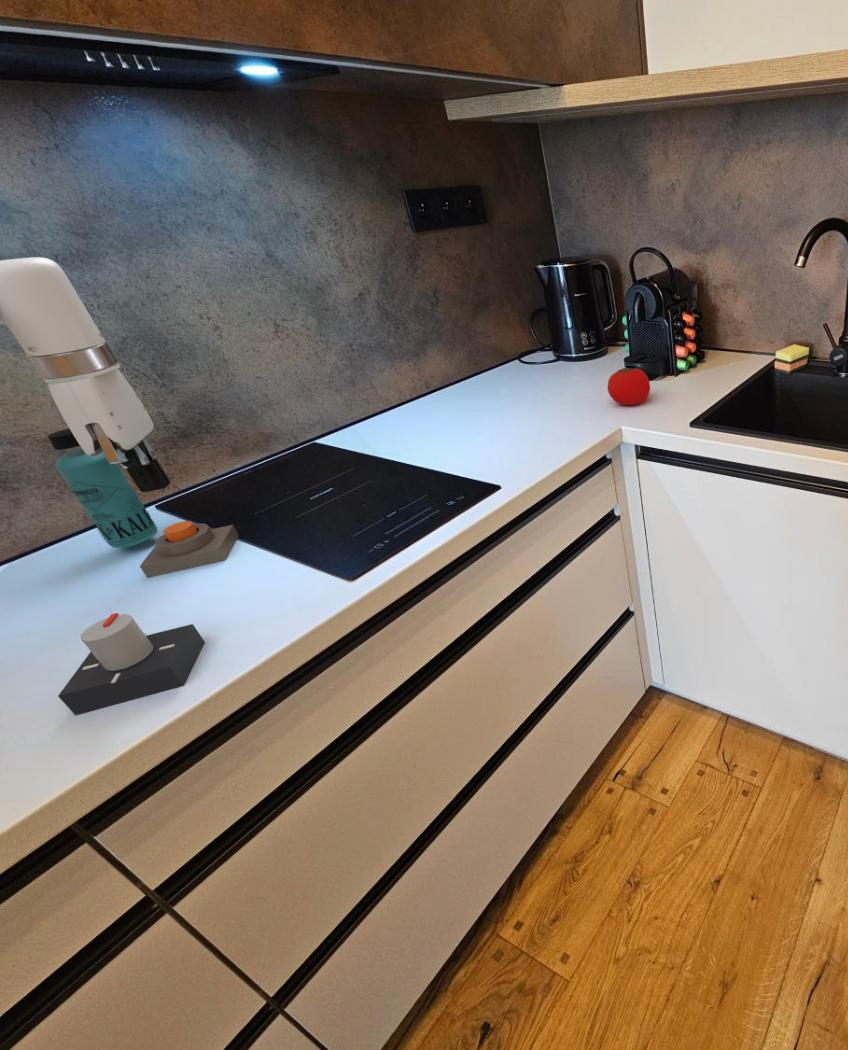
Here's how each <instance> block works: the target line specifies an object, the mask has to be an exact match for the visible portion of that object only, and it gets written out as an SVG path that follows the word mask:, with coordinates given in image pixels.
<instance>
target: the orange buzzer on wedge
mask: <svg viewBox="0 0 848 1050" xmlns="http://www.w3.org/2000/svg"><path fill="white" fill-rule="evenodd" d="M193 524H194V526H195V528H196V529H197V531H198V533H196V534H195V535H193V536H192V537H189V538H187V539H184V540H181V541H176V542H169V540H168V539H167V537H166V536H165V534H164V533H163V534H162V535H161V536H158V538H157V539H156V540H155V542H154V543H155V546H154V547H153V548H152V549H151V551H150V552H149V553H148V555H147V556H146V557H145V558H144V560H143V561H142V562H141V564H140V565H139V568H140V569H141V570H142V572H143V574H144V575H145V577H146V578H147V579H150V578H155V577H158V576H163V575H168V574H173V573H177V572H180V571H186V570H189V569H194V568H198V567H204V566H208V565H211V564H217V563H222V562H226V560H227V559H228V557H229V555H230V553H231V551H232V550H233V548H234V546H235V545H236V543H237V541H238V539H239V537H240V535H239V533H238V531H237V529H236V527H235V526H234V524H230V525H224V526H220V527H214V528H210V526H209V525H208V524H207V523H193Z"/></svg>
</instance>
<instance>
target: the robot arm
mask: <svg viewBox="0 0 848 1050" xmlns="http://www.w3.org/2000/svg"><path fill="white" fill-rule="evenodd" d="M1 325H6V326H7V327H8V329H9V330H10V332H11V333H12V335H13V337H14V338H15V339H16V341H17V342H18V344H19V345H20V347H21V348H22V350H23V351H24V353H25V354H26V356H28V358H29V360H30V361H31V363H32V364H33V366H34V367H35V369H36V370H37V372H38V374H39V375H40V376H41V377H42V379H43V380H44V382H45V383H47V387H48V389H49V393H50V395H51V397H52V400H53V401H54V404H55V405H56V407H57V409H58V411H59V413H60V414H61V416H62V418H63V420H64V421H65V423H66V425H67V427H68V429H69V428H70V430H71V432H72V433H73V435H74V437H75V438H76V440H77V441H78V443H79V445H80V446H79V447H80V449H83V450H84V452H85V453H86V454H87V455H89V456H97V455H99V454H100V453H102V452H104V454H105V456H106V458H107V460H108V462H109V463H110V464H117V465H118V464H119V465H120V466H121V468H122V469H124V470H125V471H126V472H127V473H128V475H129V476H130V478H131V480H132V481H133V482H134V484H135V485H136V487H137V489H138V490H139V491H140V493H148V492H153V491H158V490H162V489H167V488H168V486H169V485H170V484H171V480H170V478H169V477H168V475H167V473H166V472H165V470H164V468H163V467H162V464H160V462H159V461H158V459H157V455H156V453H155V451H154V449H153V447H152V445H151V443H150V441H151V438H152V435H151V433H152V432H153V429H154V426H155V425H154V422H153V419H152V418H151V416H150V414H149V412H148V411H147V409H146V407H145V405H144V404H143V402H142V400H141V399H140V398H139V396H138V394H137V392H135V389H133V387H132V385H131V384H130V383H129V382H128V380H127V379H126V377H125V376H124V375H123V373H122V372H121V370H119V369H120V368H122V367H121V365H120V362H119V361H118V359H117V358H116V356H115V354H114V353H113V351H112V349H111V347H110V346H109V345H108V343H107V341H106V339H105V338H104V336H103V334H102V333H101V331H100V329H99V328H98V326H97V325H96V322H95V321H94V319H93V318H92V316H91V314H90V313H89V311H88V310H87V308H86V306H85V304H84V303H83V301H82V300H81V297H80V296H79V295H78V293H77V291H76V289H75V288H74V286H73V283H71V281H70V279H69V278H68V276H67V274H66V272H65V271H64V270H63V268H62V267H61V266H60V265H59V264H58V263H57V262H56V261H54V260H52V259H50V258H47V257H43V256H31V257H20V258H10V259H1V260H0V326H1Z"/></svg>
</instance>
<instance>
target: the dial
mask: <svg viewBox="0 0 848 1050" xmlns="http://www.w3.org/2000/svg"><path fill="white" fill-rule="evenodd" d="M146 635H147V634H146ZM146 635H145V634H144V631H143V630H142V629H141V627H140V626H139V624H138V622H137V621H136V620H135V619H134V617H133V616H132V615H131V614H126V613H124V614H119V613H118V612H115V613H111V614H110V615H109V617H106V618H104V619H101V620H99V621H97V622H94V623H93V624H91V625H90V626H89V627H88V628H85V630H84V631H83V632H82V633H81V634H80V640H81V641H82V642H83V644H84V645H85V646H86V648H88V650H89V651H90V652H92V653H93V655H94V656H95V657H96V658H97V660H98V661H99V662H100V663H101V664H102V666H103V667H104V668H105V669H106V670H109V671H116V670H121V669H125V668H128V667H130V666H133V665H135V664H137V663H139V662H140V661H142V660H143V659H145V658H146V657H147V656H149V655H150V654H151V652H152V651H153V645H152V644H151V642H150V641H149V639H148V638H147V637H146Z"/></svg>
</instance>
